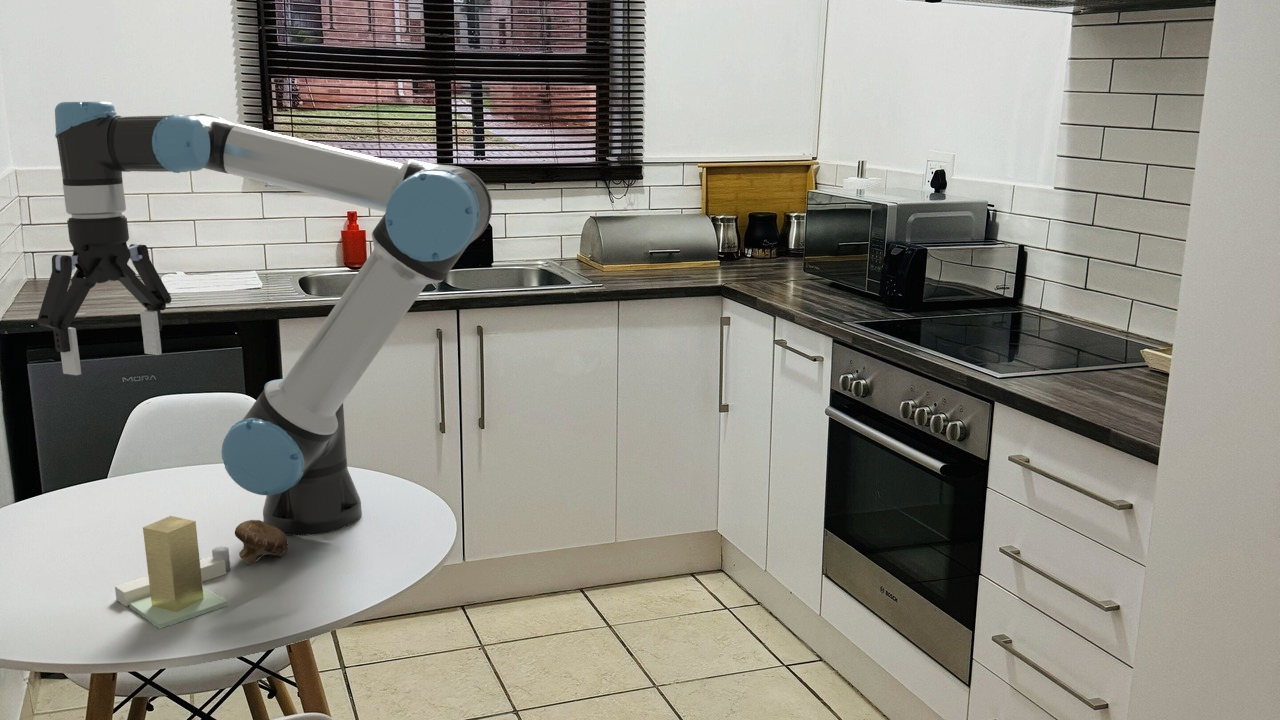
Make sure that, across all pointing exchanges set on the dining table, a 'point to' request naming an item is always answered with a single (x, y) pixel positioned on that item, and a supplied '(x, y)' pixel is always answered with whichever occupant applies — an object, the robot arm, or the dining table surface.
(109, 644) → the dining table surface
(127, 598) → the door edge
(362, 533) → the dining table surface
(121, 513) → the dining table surface
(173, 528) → the block
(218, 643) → the dining table surface
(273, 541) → the mushroom
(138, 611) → the plate
